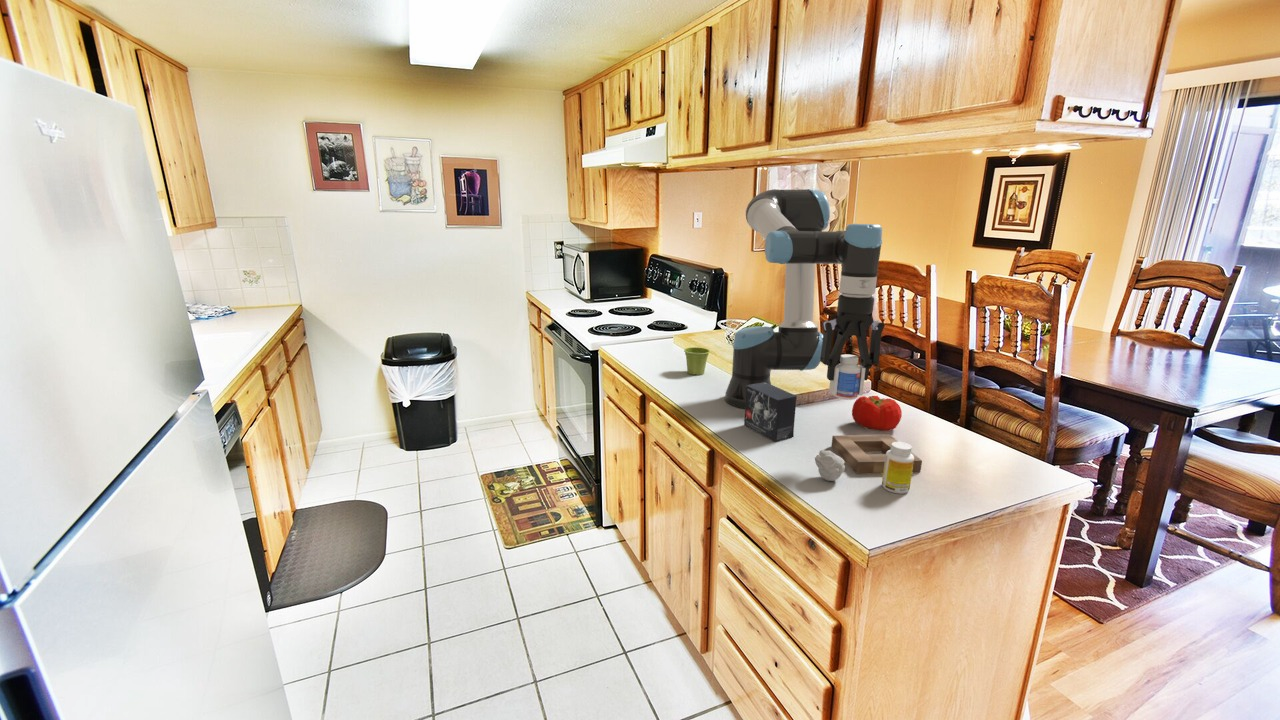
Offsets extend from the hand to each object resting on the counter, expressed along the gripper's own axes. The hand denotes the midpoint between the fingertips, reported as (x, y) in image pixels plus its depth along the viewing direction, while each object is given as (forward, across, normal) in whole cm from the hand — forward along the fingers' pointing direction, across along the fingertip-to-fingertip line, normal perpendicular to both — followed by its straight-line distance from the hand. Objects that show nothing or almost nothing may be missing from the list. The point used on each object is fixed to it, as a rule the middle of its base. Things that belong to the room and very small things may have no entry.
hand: (845, 393), depth 128 cm
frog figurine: (+17, -6, -10) cm, 21 cm away
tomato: (+17, +18, +20) cm, 32 cm away
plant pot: (+17, -26, +72) cm, 78 cm away
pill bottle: (+1, 0, 0) cm, 1 cm away
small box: (+17, -13, +17) cm, 28 cm away
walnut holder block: (+17, +9, 0) cm, 19 cm away
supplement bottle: (+17, +7, -14) cm, 24 cm away
